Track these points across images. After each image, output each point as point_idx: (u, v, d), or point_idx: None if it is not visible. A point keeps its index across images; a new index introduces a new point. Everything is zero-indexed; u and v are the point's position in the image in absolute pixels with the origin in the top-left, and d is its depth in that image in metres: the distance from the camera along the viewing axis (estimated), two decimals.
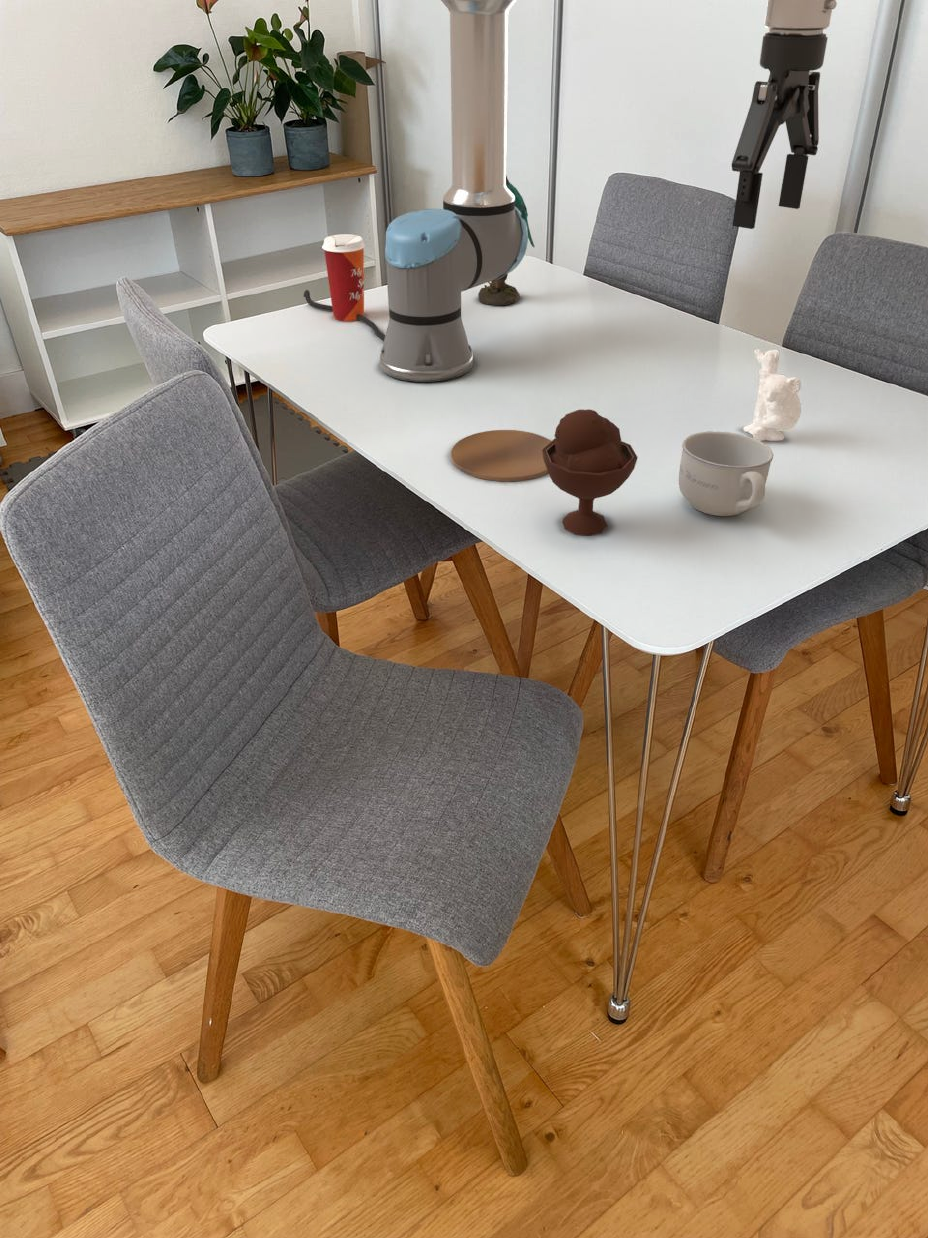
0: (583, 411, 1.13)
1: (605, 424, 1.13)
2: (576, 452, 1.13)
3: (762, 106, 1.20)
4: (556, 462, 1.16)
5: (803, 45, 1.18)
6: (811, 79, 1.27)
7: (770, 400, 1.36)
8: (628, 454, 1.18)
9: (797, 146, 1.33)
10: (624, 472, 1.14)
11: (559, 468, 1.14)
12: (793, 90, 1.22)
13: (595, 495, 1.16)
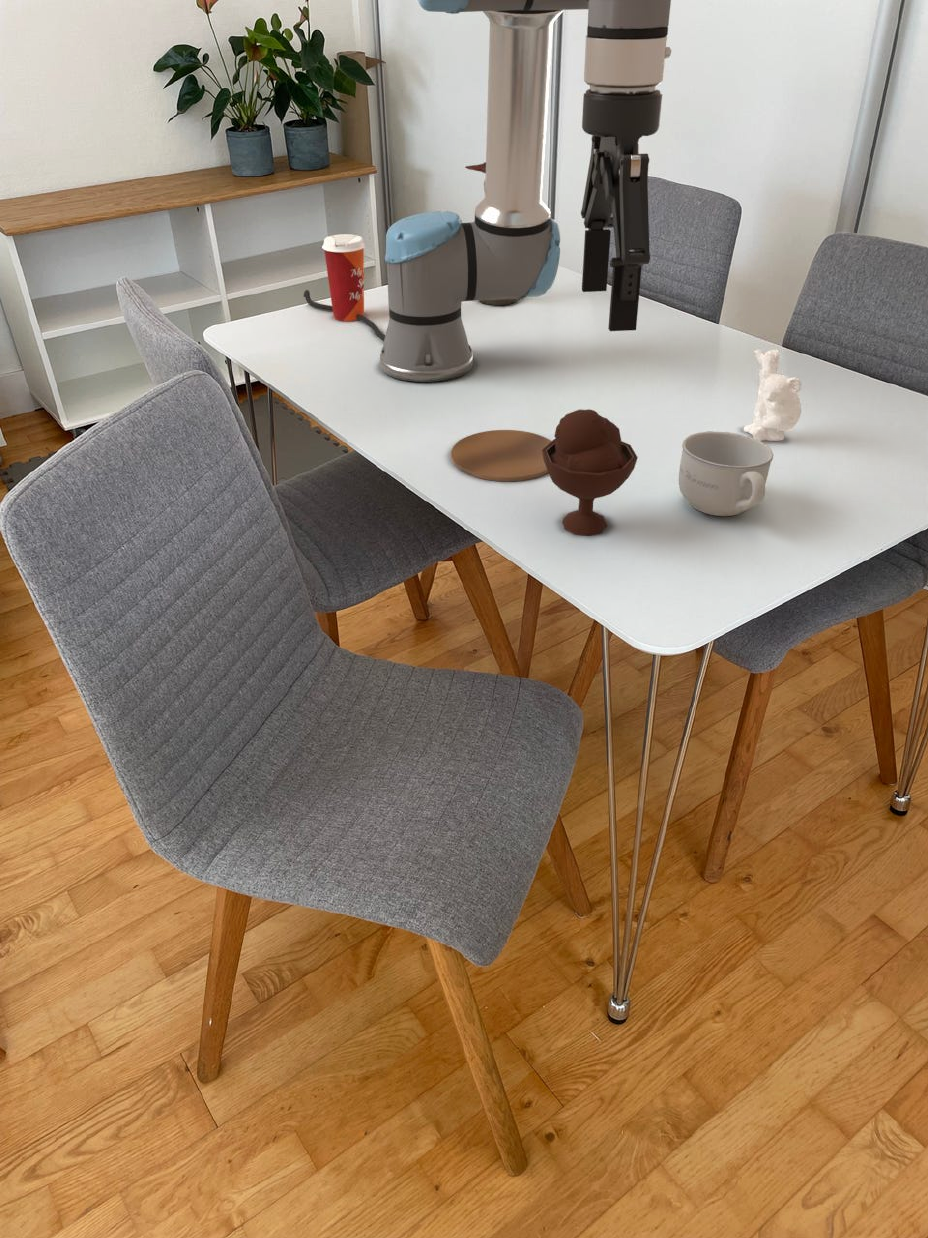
0: (583, 411, 1.13)
1: (605, 424, 1.13)
2: (576, 452, 1.13)
3: (638, 184, 0.95)
4: (556, 462, 1.16)
5: (654, 104, 0.95)
6: None
7: (770, 400, 1.36)
8: (628, 454, 1.18)
9: (594, 220, 1.10)
10: (624, 472, 1.14)
11: (559, 468, 1.14)
12: None
13: (595, 495, 1.16)
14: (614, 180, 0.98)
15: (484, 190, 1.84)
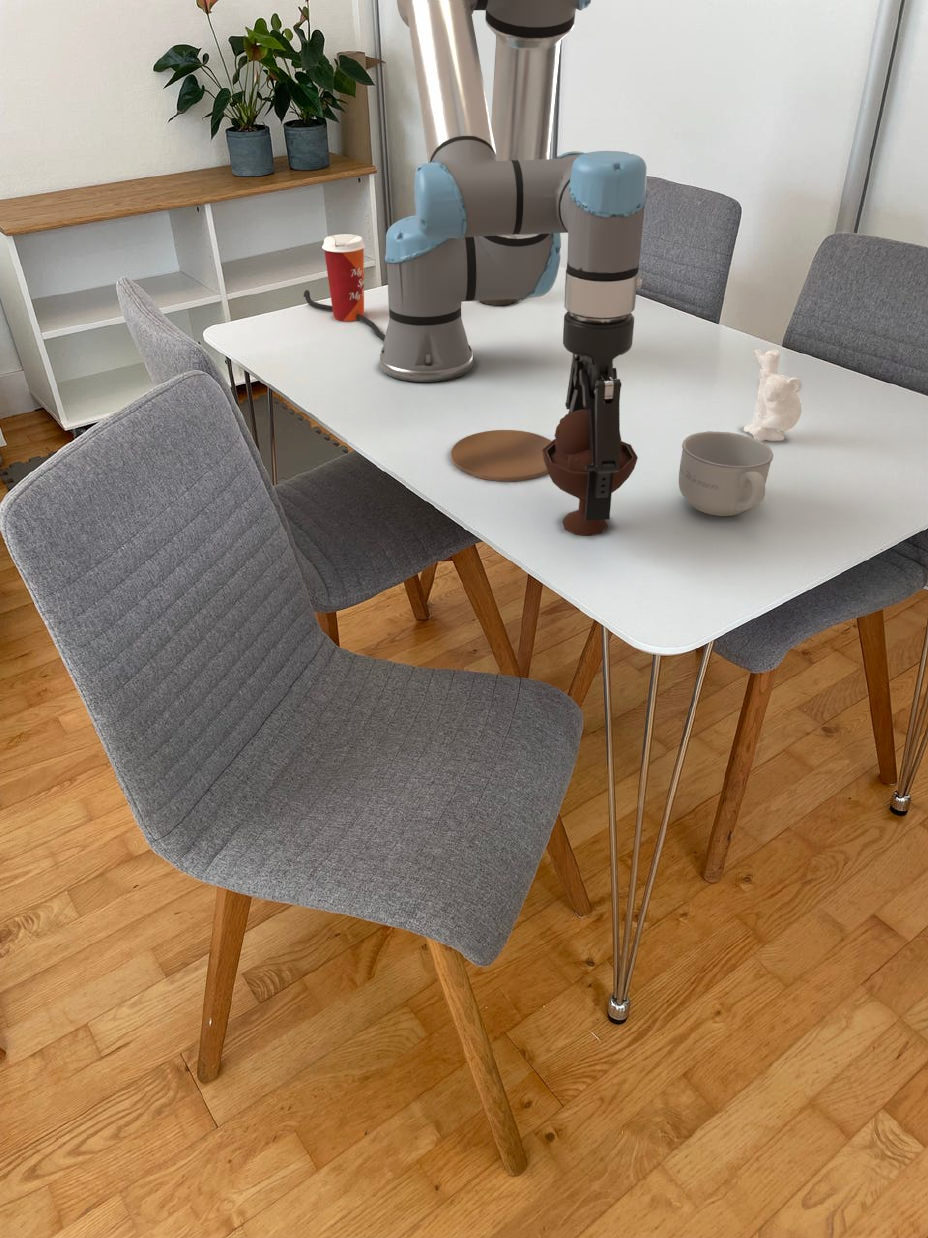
0: (583, 411, 1.13)
1: None
2: (576, 452, 1.14)
3: (611, 405, 1.06)
4: (556, 462, 1.16)
5: (627, 330, 1.06)
6: None
7: (770, 400, 1.36)
8: (628, 454, 1.18)
9: None
10: (624, 472, 1.14)
11: (559, 468, 1.14)
12: (613, 371, 1.10)
13: None
14: (591, 391, 1.10)
15: None
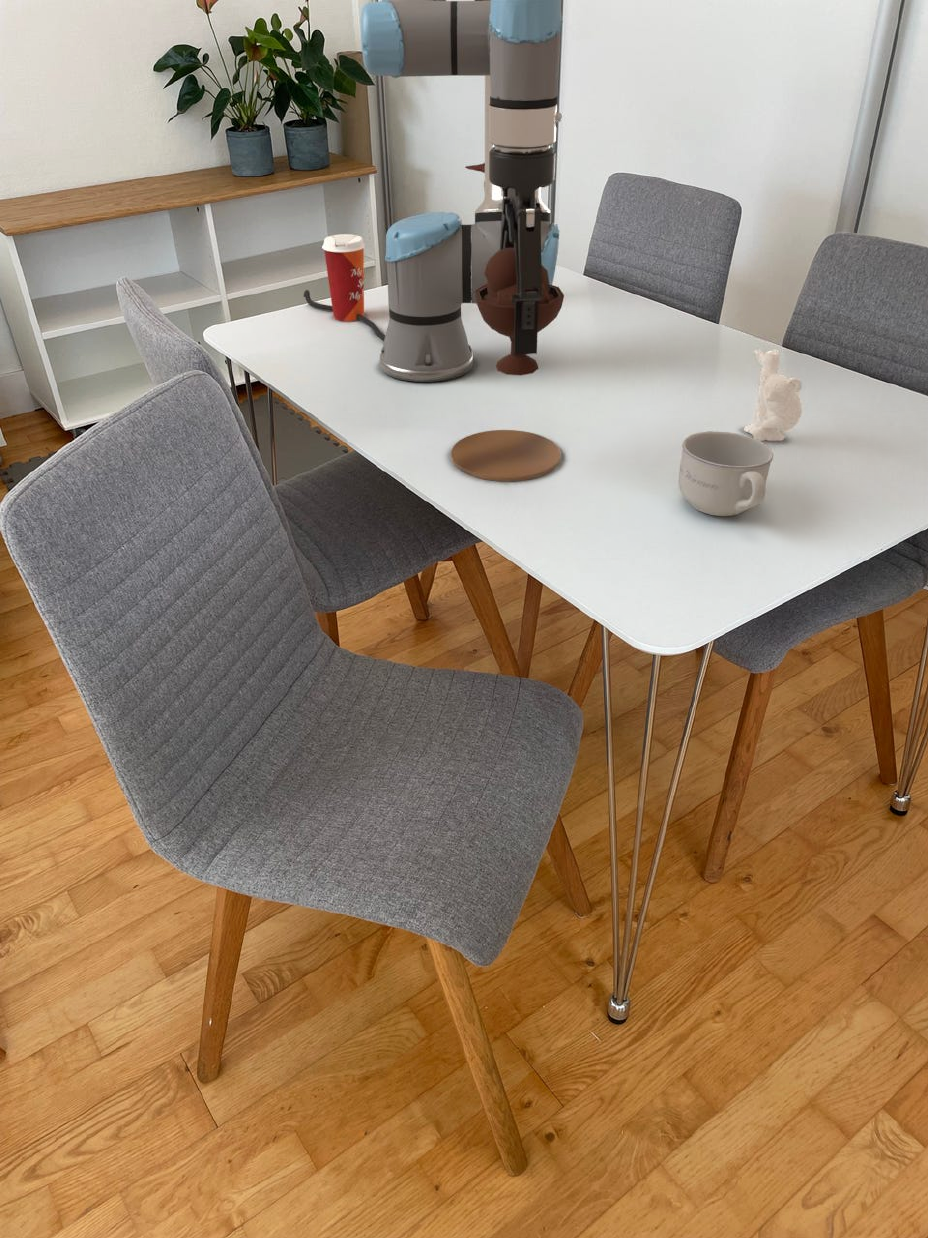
0: (511, 248, 1.19)
1: None
2: (504, 287, 1.20)
3: (533, 233, 1.12)
4: (487, 301, 1.23)
5: (547, 161, 1.12)
6: None
7: (770, 400, 1.36)
8: (556, 295, 1.24)
9: None
10: (550, 307, 1.20)
11: (488, 303, 1.20)
12: (537, 206, 1.16)
13: None
14: (516, 224, 1.16)
15: (484, 190, 1.84)
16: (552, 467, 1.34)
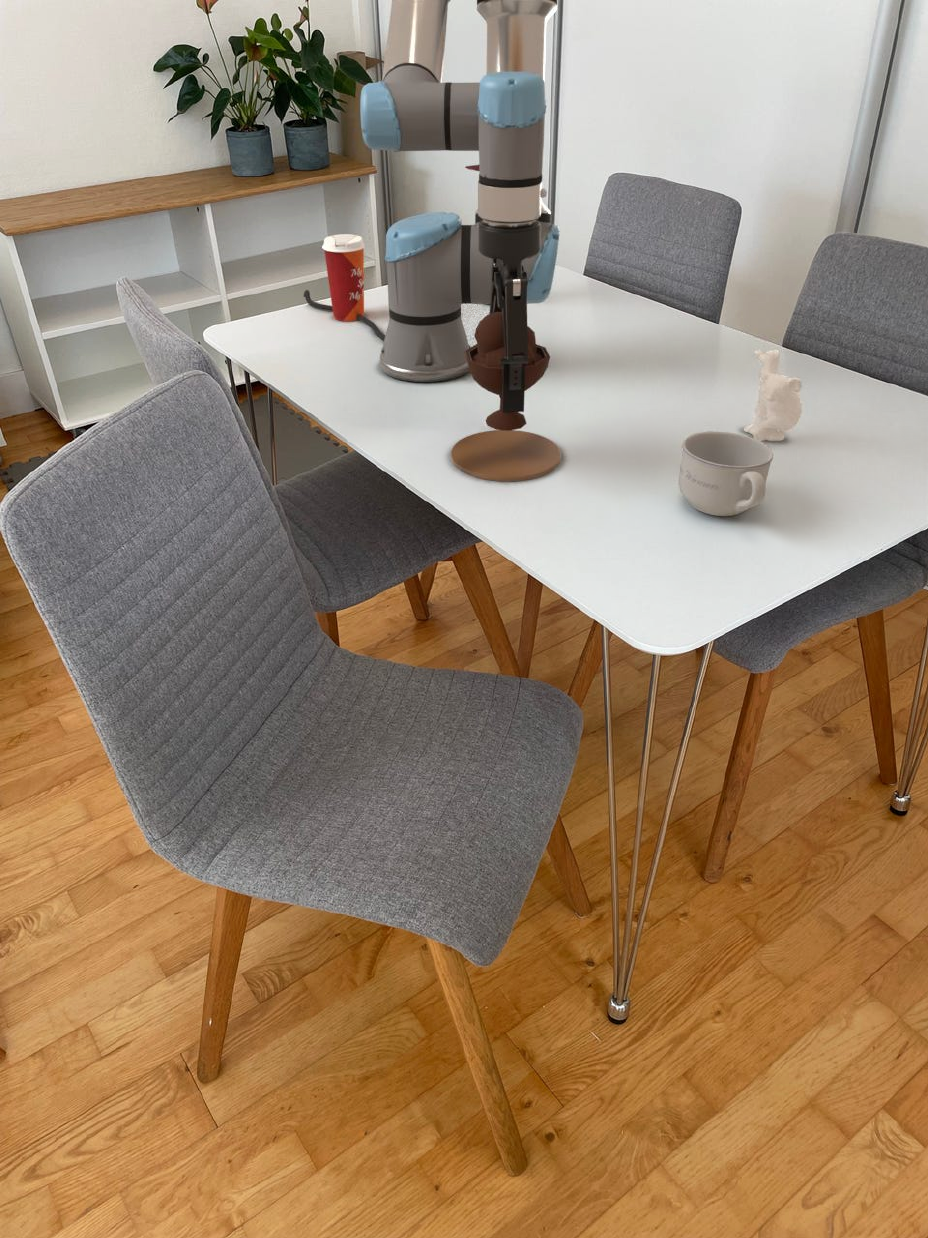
0: (499, 313, 1.26)
1: None
2: (492, 350, 1.26)
3: (519, 302, 1.19)
4: (477, 361, 1.29)
5: (533, 235, 1.19)
6: None
7: (770, 400, 1.36)
8: (543, 355, 1.31)
9: None
10: (536, 368, 1.27)
11: (478, 364, 1.27)
12: (524, 274, 1.23)
13: None
14: (504, 292, 1.22)
15: None
16: (552, 467, 1.34)
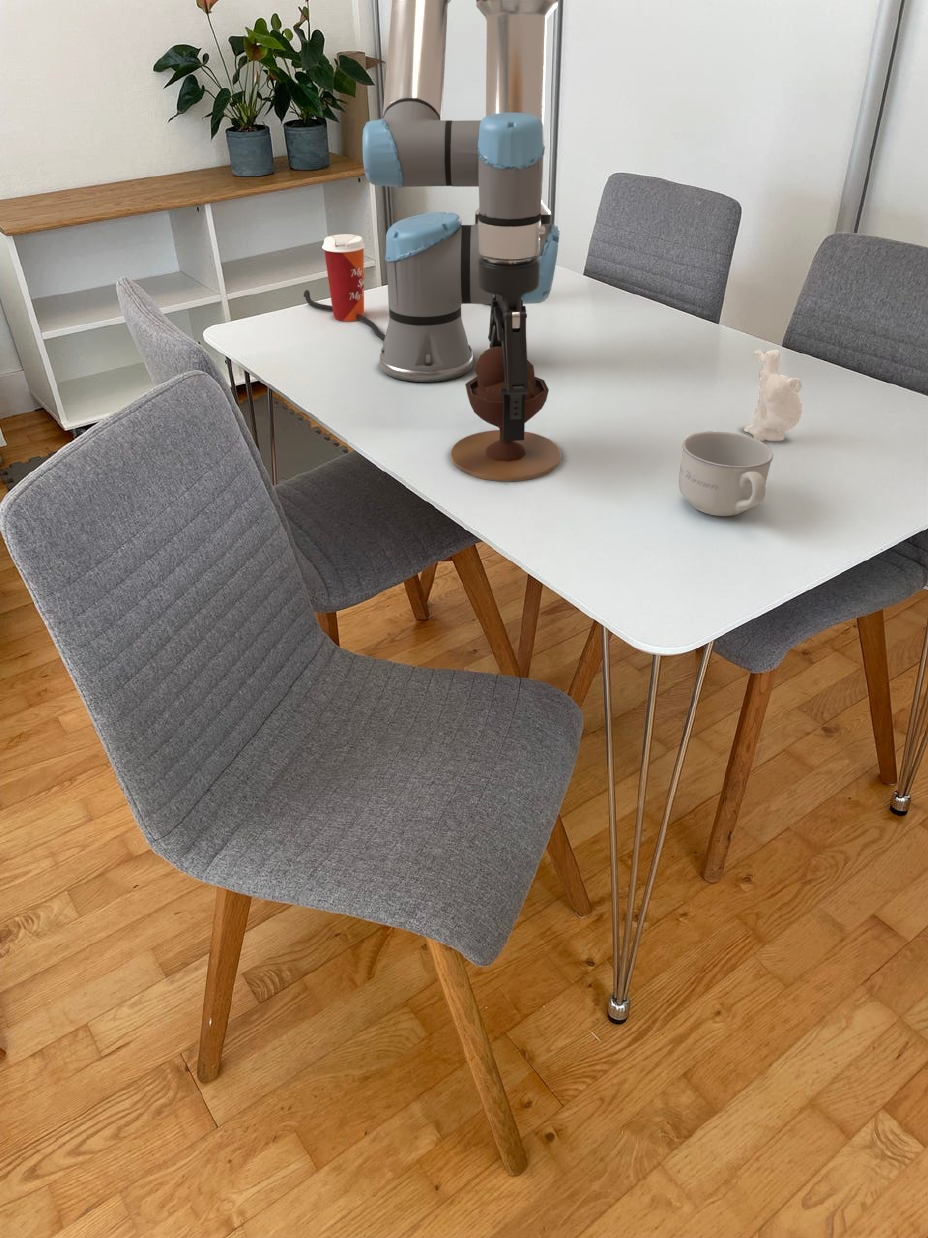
0: (499, 347, 1.29)
1: None
2: (492, 384, 1.29)
3: (519, 334, 1.21)
4: (477, 394, 1.32)
5: (532, 271, 1.21)
6: None
7: (771, 400, 1.36)
8: (541, 388, 1.33)
9: (497, 345, 1.36)
10: (535, 402, 1.29)
11: (478, 398, 1.29)
12: (523, 309, 1.25)
13: None
14: (503, 326, 1.25)
15: None
16: (552, 467, 1.34)
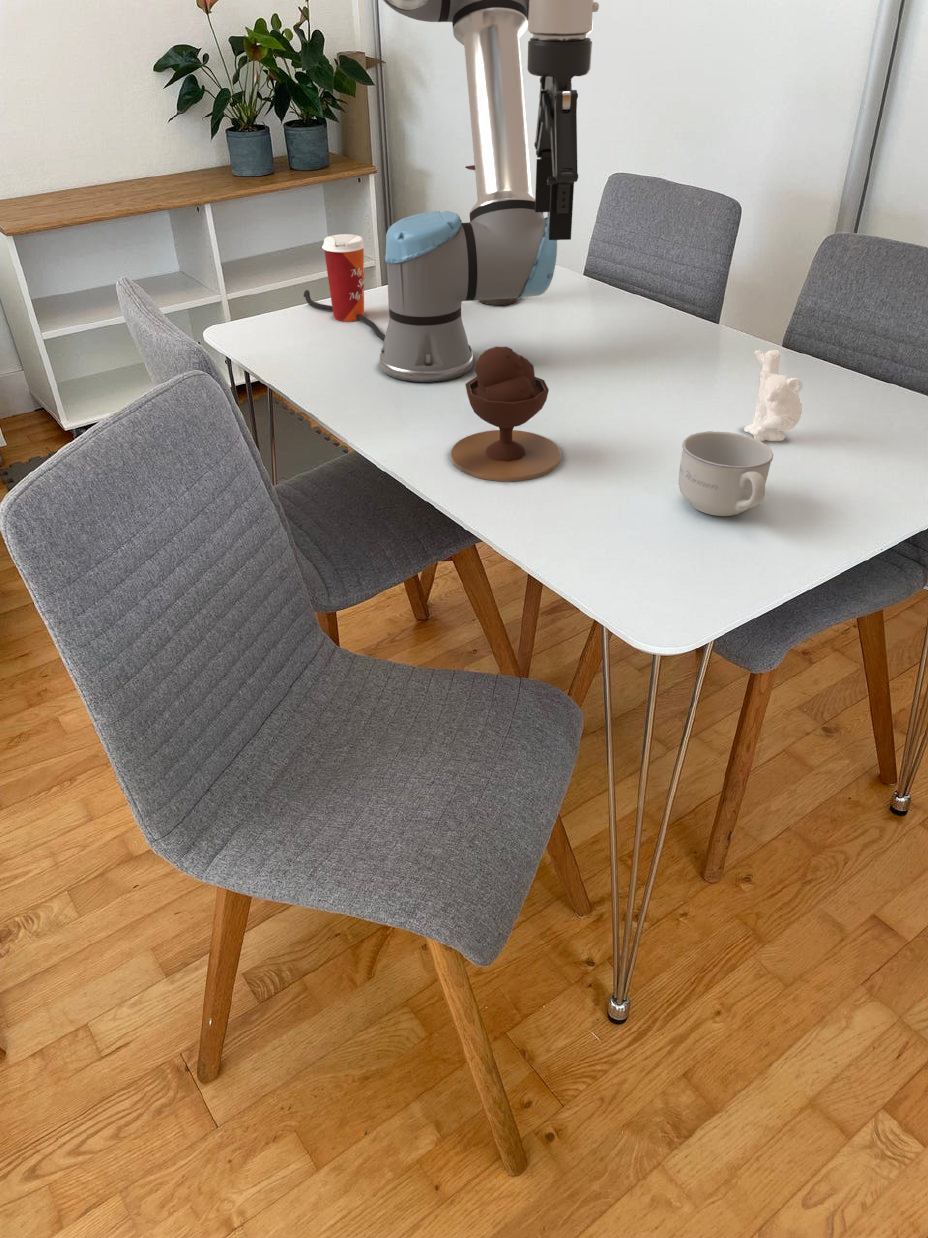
0: (499, 347, 1.29)
1: (518, 359, 1.29)
2: (492, 384, 1.29)
3: (569, 115, 1.16)
4: (477, 394, 1.32)
5: (584, 49, 1.16)
6: None
7: (771, 400, 1.36)
8: (541, 388, 1.33)
9: (544, 150, 1.32)
10: (535, 402, 1.29)
11: (478, 398, 1.29)
12: None
13: (511, 423, 1.31)
14: (552, 113, 1.20)
15: None
16: (552, 467, 1.34)
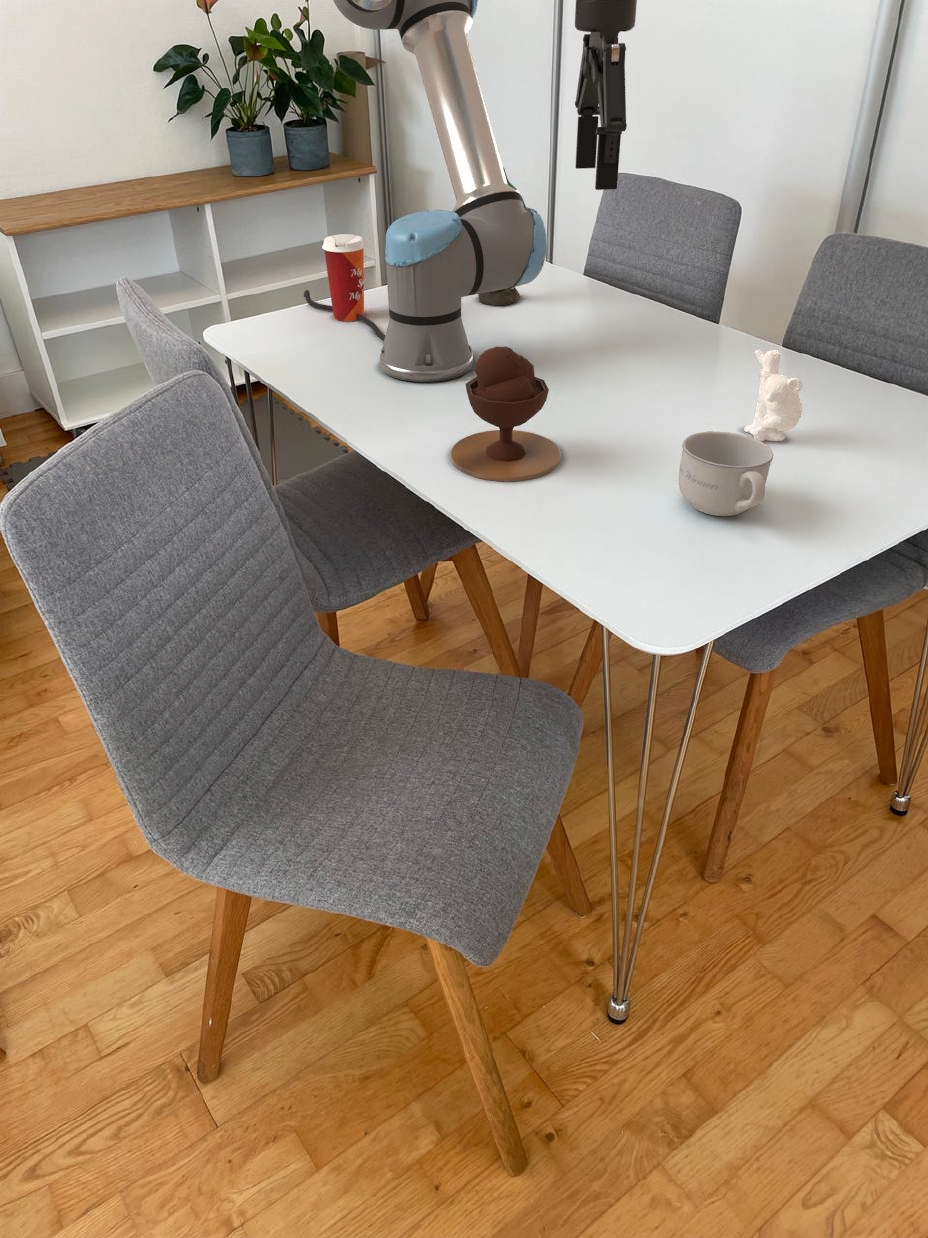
0: (499, 347, 1.29)
1: (518, 359, 1.29)
2: (492, 384, 1.29)
3: (618, 67, 1.22)
4: (477, 394, 1.32)
5: (630, 5, 1.22)
6: None
7: (771, 400, 1.36)
8: (541, 388, 1.33)
9: (585, 108, 1.38)
10: (535, 402, 1.29)
11: (478, 398, 1.29)
12: None
13: (511, 423, 1.31)
14: (599, 67, 1.26)
15: None
16: (552, 467, 1.34)
